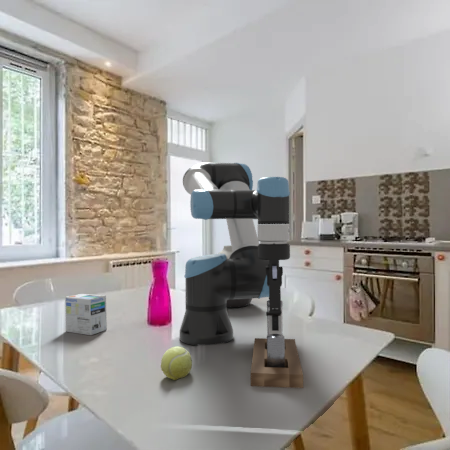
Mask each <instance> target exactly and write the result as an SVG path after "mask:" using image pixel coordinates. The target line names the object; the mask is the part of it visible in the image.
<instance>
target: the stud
mask: <svg viewBox="0 0 450 450" xmlns="http://www.w3.org/2000/svg"><path fill="white" fill-rule="evenodd" d="M283 302H284V301H283V300H281V311H282V313H281V335H283V336H284V334H283V326H284V324H283V306H284V305H283V304H284V303H283ZM272 309H278V308H272ZM269 310H270V304H269V299H268V300H267V301H266V312H269ZM266 320H267V321H266V325H267V327H266V328H267V329H266V331H267V334H266V336H267V335H269V316H266Z"/></svg>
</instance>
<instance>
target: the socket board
mask: <svg viewBox="0 0 450 450" xmlns="http://www.w3.org/2000/svg"><path fill="white" fill-rule="evenodd" d="M253 342H254V343H253V348H252V349H253V351H252V358H251V359H252V360H251V366H250V387H266V388H267V387H269V388H288V389H289V388H290V389H291V388H294V389H304V373H303V368H302V364H301V360H300V355H299V352H298V347H297V342H296V339H295V338H284V342H285V368H275V367H267V337H266V338H264V337H262V338H260V337H255V338H254V341H253Z"/></svg>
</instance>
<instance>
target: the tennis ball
mask: <svg viewBox="0 0 450 450" xmlns="http://www.w3.org/2000/svg"><path fill="white" fill-rule="evenodd" d="M192 359H193V358H192V356H191V354H190V352H189V351H188V350H187V349H186V348H184V347H183V346H172V347H169V348H168V349H166V351H165V352H164V353H163V355H162V357H161V360H160V370H161V371H162V373H163V374H164V376H166V377H167V378H168V379H171V380H174V381H178V379H183V378H185V377H186V376H187V375H188V374H190V372H191V370H192V366H193V360H192Z"/></svg>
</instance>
